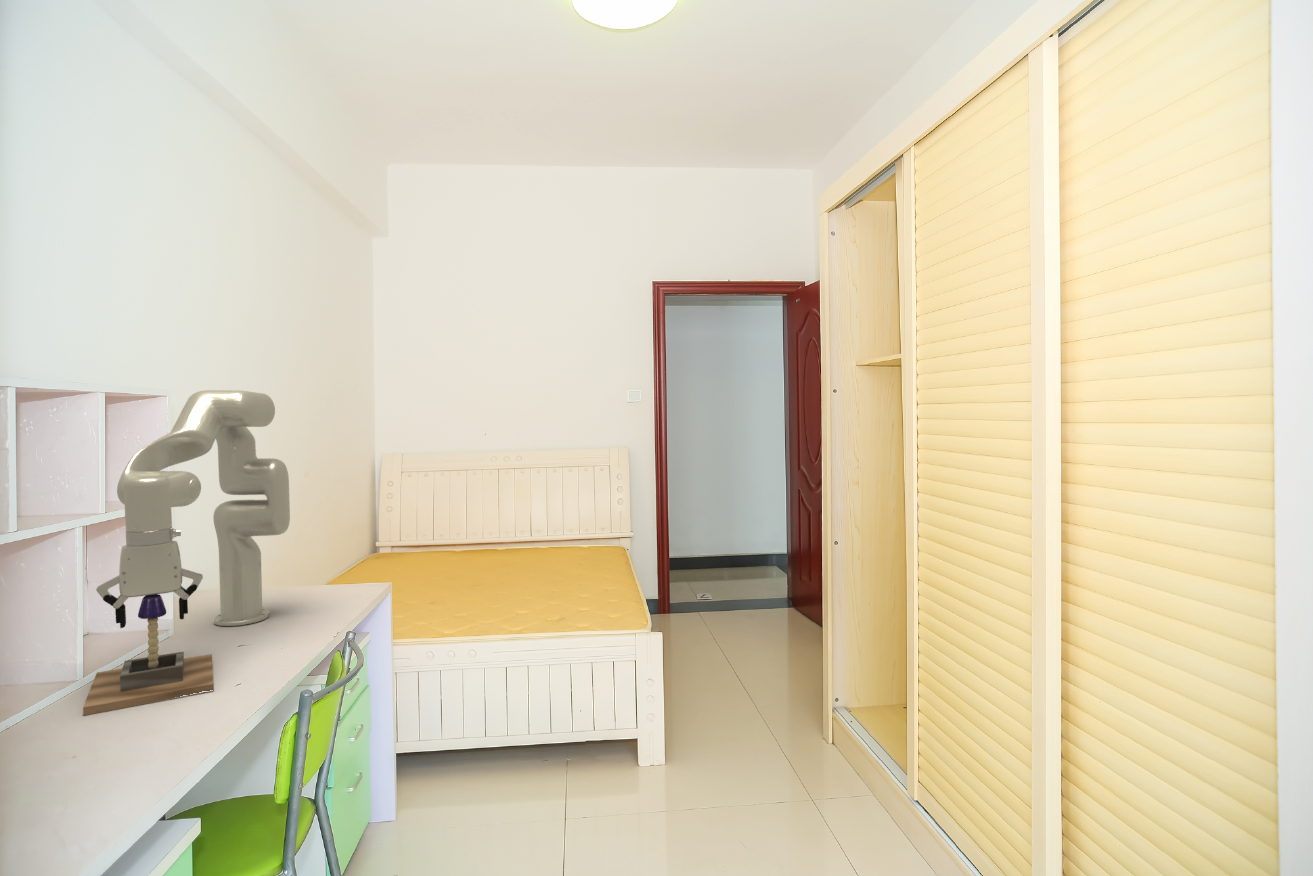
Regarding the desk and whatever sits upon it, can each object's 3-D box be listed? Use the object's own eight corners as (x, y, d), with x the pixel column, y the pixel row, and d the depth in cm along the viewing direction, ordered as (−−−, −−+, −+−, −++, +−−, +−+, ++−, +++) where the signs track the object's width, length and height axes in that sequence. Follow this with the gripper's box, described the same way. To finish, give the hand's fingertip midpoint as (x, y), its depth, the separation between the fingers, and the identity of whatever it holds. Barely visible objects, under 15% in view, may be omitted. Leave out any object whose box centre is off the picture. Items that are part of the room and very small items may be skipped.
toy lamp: (173, 674, 143) (171, 593, 142) (150, 683, 138) (148, 599, 138) (157, 671, 144) (154, 591, 144) (133, 679, 140) (131, 597, 139)
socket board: (97, 679, 144) (96, 658, 144) (212, 660, 155) (211, 640, 155) (83, 715, 127) (82, 691, 127) (213, 691, 138) (212, 668, 138)
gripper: (201, 530, 148) (204, 610, 149) (96, 539, 138) (100, 624, 139) (201, 536, 141) (204, 619, 142) (91, 546, 132) (96, 635, 133)
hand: (153, 621), depth 141 cm, fingers open, 9 cm apart
